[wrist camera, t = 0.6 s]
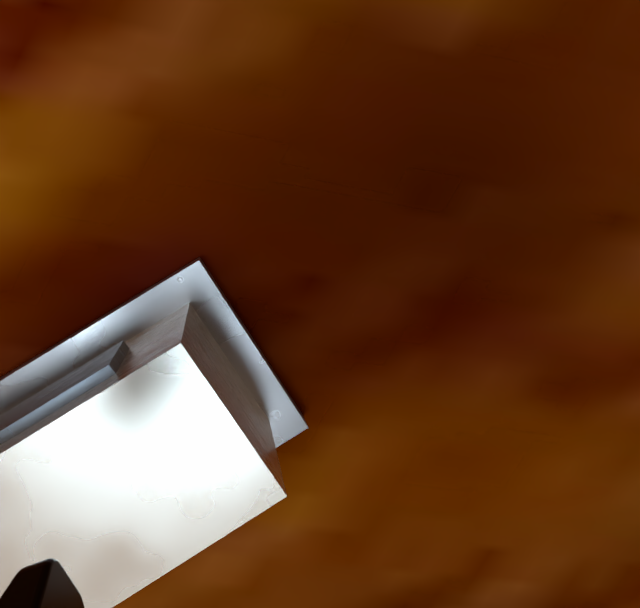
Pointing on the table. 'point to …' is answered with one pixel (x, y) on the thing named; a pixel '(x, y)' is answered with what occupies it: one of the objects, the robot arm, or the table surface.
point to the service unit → (140, 440)
